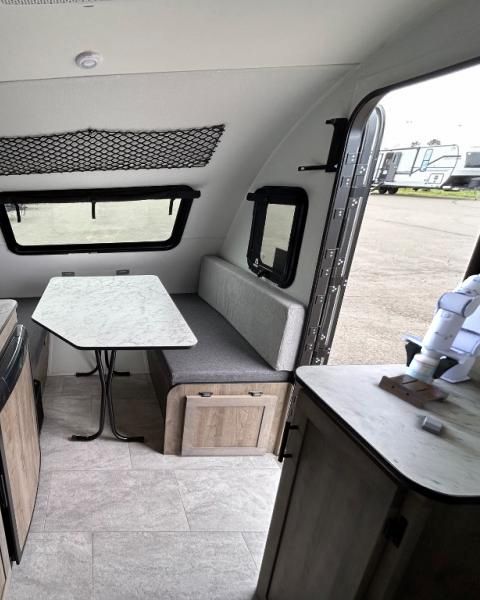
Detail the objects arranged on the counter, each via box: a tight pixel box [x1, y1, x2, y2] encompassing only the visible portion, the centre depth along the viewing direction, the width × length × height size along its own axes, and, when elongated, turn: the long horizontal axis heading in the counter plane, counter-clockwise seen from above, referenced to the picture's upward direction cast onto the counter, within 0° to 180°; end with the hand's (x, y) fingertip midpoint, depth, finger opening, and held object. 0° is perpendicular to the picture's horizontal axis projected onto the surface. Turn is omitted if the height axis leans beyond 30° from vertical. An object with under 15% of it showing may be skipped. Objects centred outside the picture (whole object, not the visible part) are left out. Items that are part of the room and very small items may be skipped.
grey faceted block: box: [420, 415, 443, 436], centre depth 81 cm, size 6×3×2 cm, turn 131°
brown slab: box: [378, 373, 450, 409], centre depth 94 cm, size 12×10×4 cm
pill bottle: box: [405, 347, 443, 386], centre depth 98 cm, size 6×6×11 cm
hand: (421, 372), depth 99 cm, fingers closed on pill bottle, 6 cm apart
